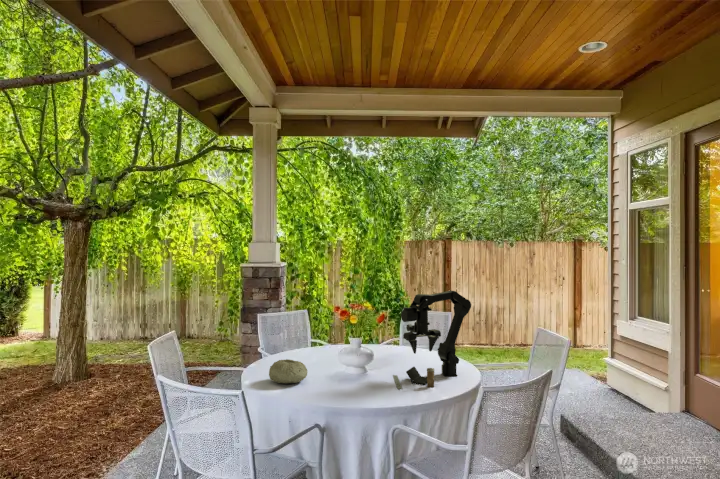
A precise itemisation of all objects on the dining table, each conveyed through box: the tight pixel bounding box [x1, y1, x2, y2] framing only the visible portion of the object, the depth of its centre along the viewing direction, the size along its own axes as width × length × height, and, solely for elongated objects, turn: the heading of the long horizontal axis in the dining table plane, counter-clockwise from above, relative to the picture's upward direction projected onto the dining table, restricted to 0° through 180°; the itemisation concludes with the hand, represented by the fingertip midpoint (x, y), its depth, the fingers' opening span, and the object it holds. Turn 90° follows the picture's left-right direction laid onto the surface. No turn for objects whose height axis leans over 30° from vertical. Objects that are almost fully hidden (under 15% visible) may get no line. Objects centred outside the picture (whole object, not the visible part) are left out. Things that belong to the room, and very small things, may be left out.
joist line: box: [392, 374, 403, 390], centre depth 214 cm, size 2×22×1 cm, turn 1°
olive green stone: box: [268, 358, 309, 384], centre depth 213 cm, size 18×18×10 cm
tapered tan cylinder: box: [426, 367, 435, 389], centre depth 207 cm, size 3×3×8 cm
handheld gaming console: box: [405, 366, 427, 386], centre depth 216 cm, size 12×7×10 cm
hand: (422, 352), depth 221 cm, fingers open, 9 cm apart
